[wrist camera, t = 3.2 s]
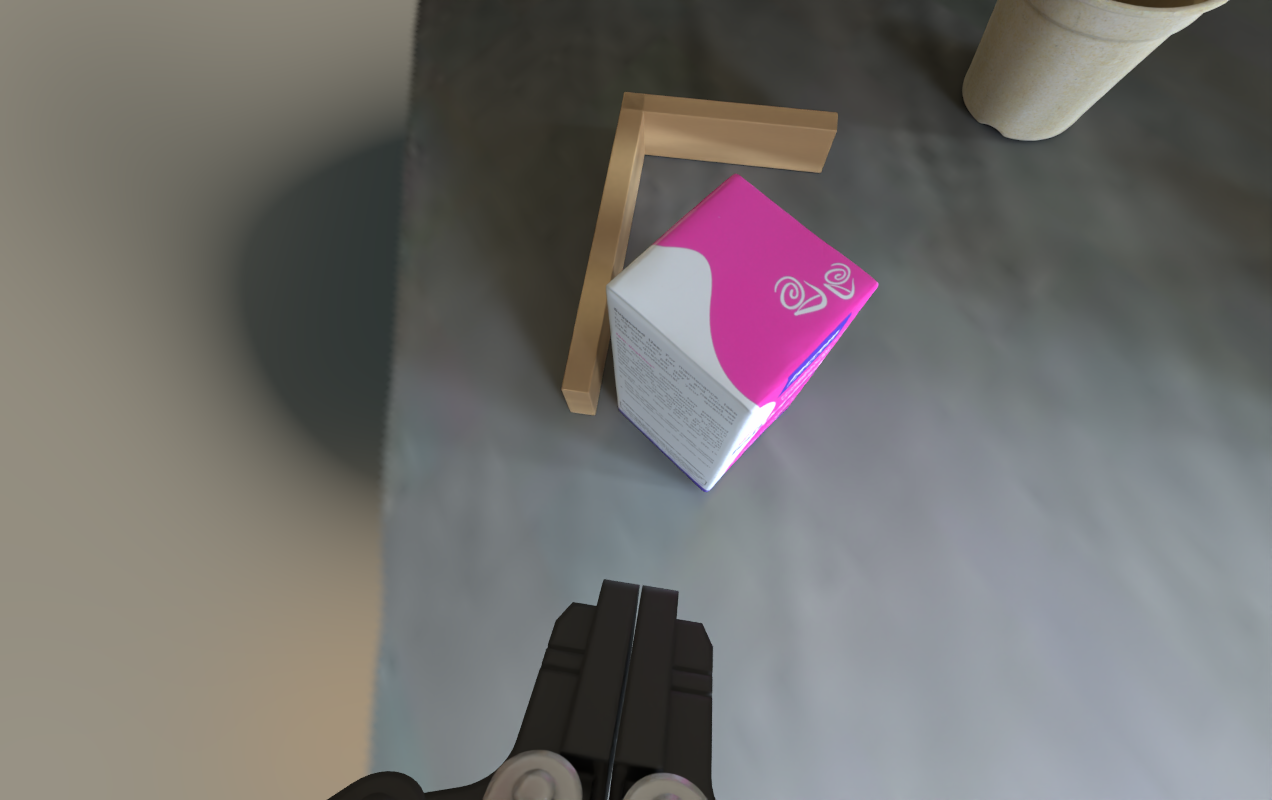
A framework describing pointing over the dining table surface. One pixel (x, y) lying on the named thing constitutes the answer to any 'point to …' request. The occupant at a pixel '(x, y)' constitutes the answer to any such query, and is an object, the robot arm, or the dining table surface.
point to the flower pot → (1063, 58)
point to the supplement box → (726, 326)
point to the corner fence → (685, 135)
